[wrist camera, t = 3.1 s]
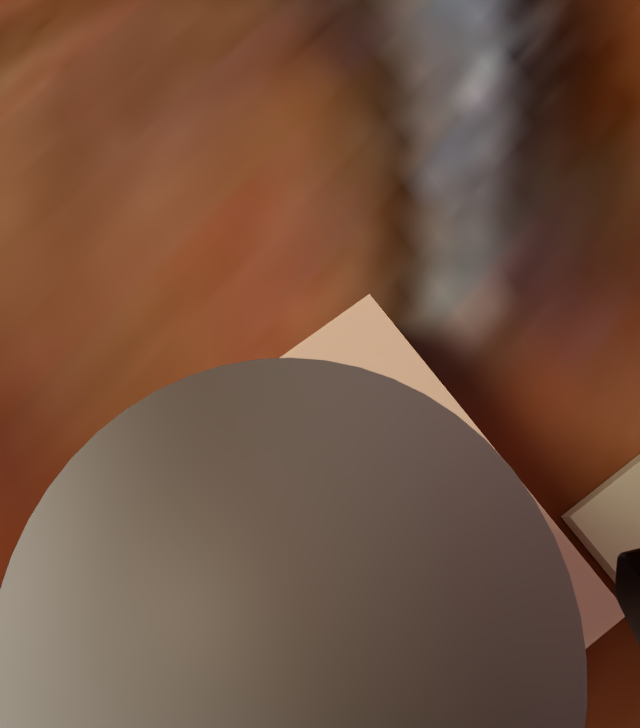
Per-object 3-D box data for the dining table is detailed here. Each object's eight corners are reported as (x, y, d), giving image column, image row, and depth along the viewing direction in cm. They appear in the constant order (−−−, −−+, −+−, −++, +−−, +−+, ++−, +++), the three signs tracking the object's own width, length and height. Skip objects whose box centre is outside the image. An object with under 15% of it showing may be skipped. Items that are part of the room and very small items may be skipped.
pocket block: (293, 831, 16) (279, 901, 13) (104, 516, 18) (56, 515, 15) (581, 597, 17) (628, 613, 14) (367, 327, 19) (369, 294, 16)
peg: (315, 686, 17) (189, 1196, 4) (217, 535, 18) (-110, 574, 5) (455, 575, 17) (724, 731, 5) (351, 436, 18) (341, 258, 6)
